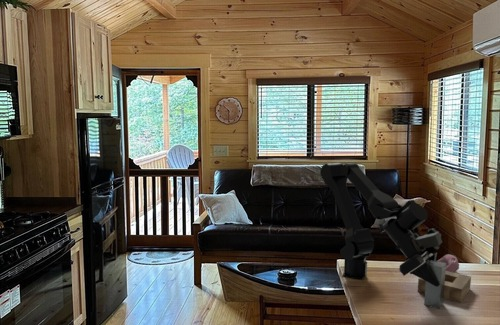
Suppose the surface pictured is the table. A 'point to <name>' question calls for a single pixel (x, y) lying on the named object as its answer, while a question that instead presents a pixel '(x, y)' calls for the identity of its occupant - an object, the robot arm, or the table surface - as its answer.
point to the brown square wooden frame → (451, 286)
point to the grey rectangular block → (432, 292)
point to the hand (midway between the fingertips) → (440, 283)
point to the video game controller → (450, 263)
